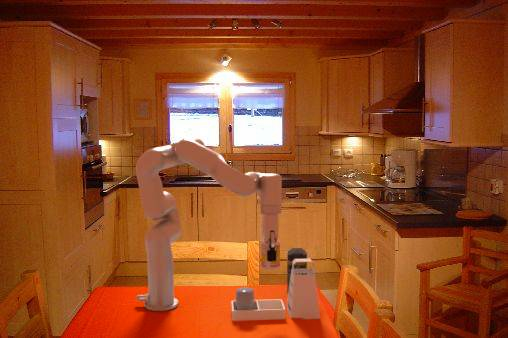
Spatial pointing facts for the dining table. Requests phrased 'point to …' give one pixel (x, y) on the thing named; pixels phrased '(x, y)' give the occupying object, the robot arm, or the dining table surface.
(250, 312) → the caddy
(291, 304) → the grater
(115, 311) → the dining table surface
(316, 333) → the dining table surface
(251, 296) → the grey smooth round piece
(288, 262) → the coffee jar
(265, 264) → the supplement bottle
